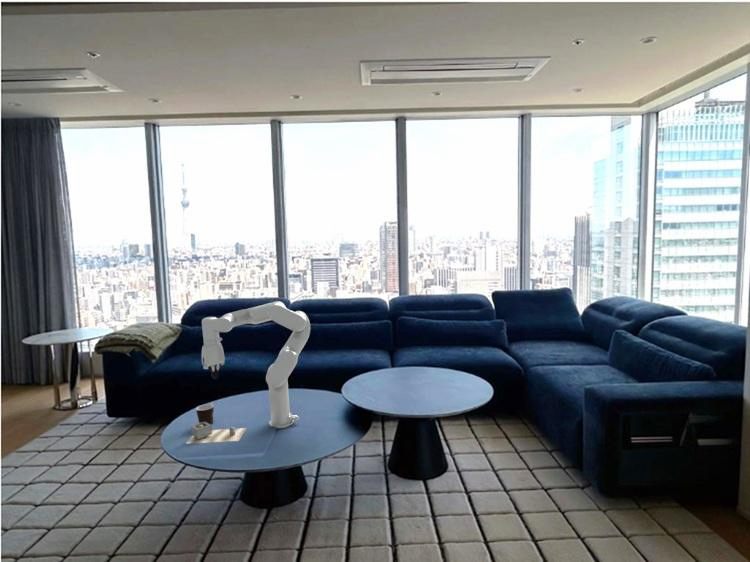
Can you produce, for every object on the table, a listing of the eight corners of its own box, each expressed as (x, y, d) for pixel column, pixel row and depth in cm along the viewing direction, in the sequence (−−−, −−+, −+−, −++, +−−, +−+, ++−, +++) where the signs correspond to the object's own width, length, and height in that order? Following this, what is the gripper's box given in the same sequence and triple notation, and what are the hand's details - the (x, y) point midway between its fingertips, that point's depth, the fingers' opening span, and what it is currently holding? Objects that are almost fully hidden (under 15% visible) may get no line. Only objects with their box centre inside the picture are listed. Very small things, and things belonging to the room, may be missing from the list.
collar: (205, 430, 228) (204, 421, 228) (212, 433, 223) (211, 424, 223) (191, 435, 223) (190, 426, 223) (198, 439, 219) (197, 429, 218)
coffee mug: (209, 429, 234) (207, 410, 233) (194, 428, 236) (192, 410, 235) (221, 420, 245) (219, 402, 244) (206, 419, 247) (205, 401, 246)
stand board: (247, 430, 231) (245, 417, 230) (238, 443, 217) (237, 429, 216) (197, 433, 231) (195, 420, 230) (185, 446, 217) (184, 432, 216)
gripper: (222, 338, 235) (225, 372, 237) (193, 344, 225) (197, 380, 227) (229, 340, 230) (232, 375, 232) (200, 346, 220) (204, 383, 222)
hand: (215, 378), depth 230 cm, fingers closed
